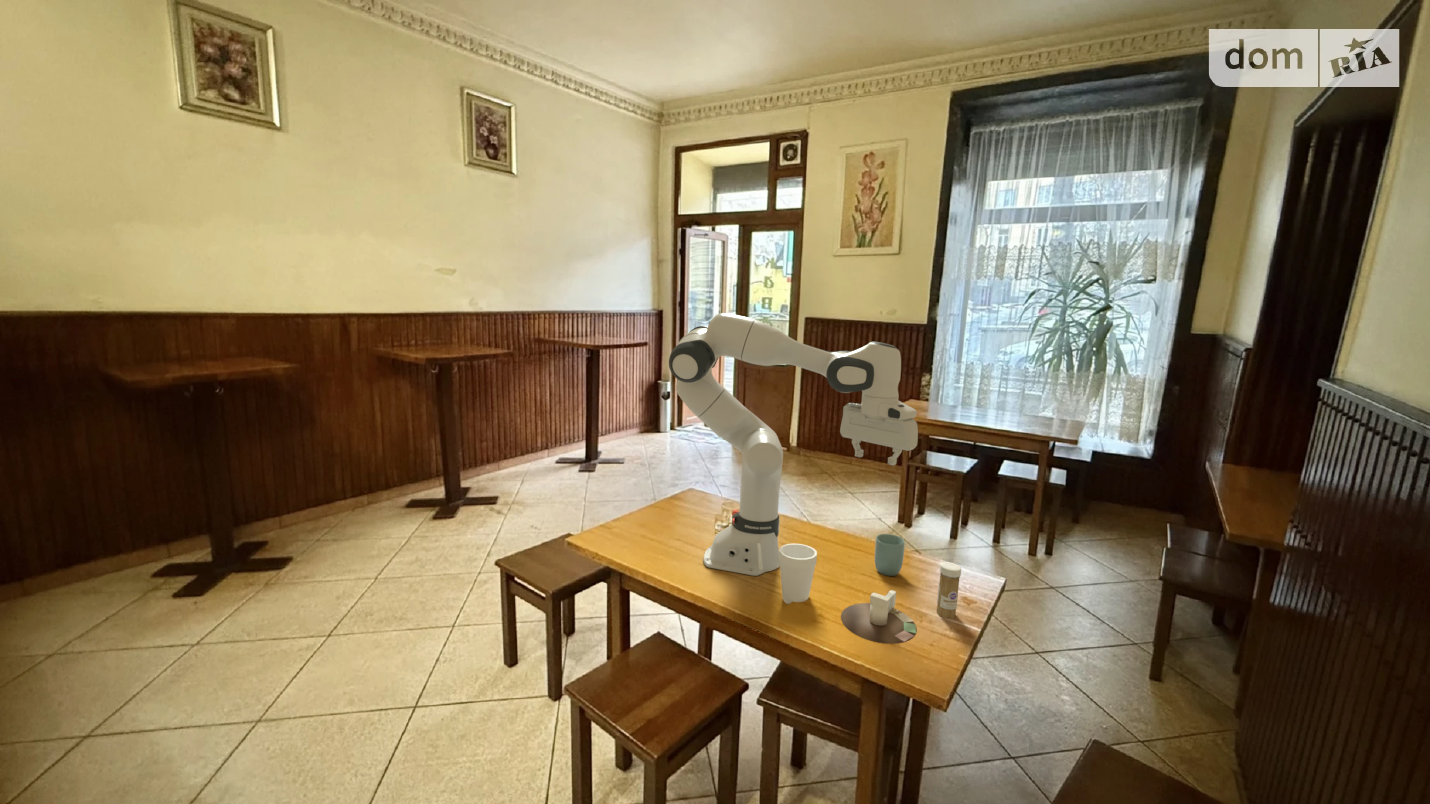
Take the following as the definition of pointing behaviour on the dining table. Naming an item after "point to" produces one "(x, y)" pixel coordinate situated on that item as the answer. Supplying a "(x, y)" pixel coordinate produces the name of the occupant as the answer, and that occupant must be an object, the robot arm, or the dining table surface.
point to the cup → (889, 554)
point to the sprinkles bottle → (948, 590)
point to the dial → (891, 633)
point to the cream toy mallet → (881, 607)
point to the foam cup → (796, 571)
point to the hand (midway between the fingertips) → (875, 460)
